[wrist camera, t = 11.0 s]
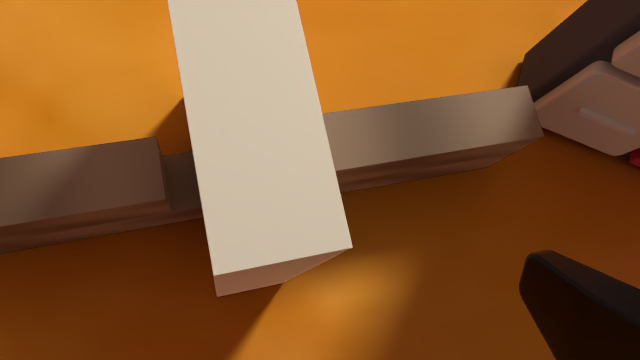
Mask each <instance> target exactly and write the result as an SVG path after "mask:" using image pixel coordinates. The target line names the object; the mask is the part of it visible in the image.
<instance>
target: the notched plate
mask: <svg viewBox="0 0 640 360" xmlns="http://www.w3.org/2000/svg"><path fill="white" fill-rule="evenodd" d="M167 1H168V7H169V13H170V20H171V26H172V32H173V38H174V44H175V50H176V56H177V62H178V68H179V74H180V80H181V86H182V92H183V98H184V104H185V110H186V116H187V122H188V128H189V134H190V140H191V146H192V152H193V157H194V163H195V169H196V175H197V181H198V187H199V193H200V199H201V205H202V211H203V217H204V223H205V229H206V235H207V241H208V247H209V253H210V259H211V265H212V271H213V277H214V283H215V289H216V295H217V297H220V296H225V295H229V294H234V293H239V292H243V291H248V290H253V289H257V288H262V287H267V286H272V285H276V284H281V283H284V282H286V281H288V280H290V279H292V278H294V277H296V276H298V275H300V274H302V273H304V272H306V271H308V270H310V269H312V268H314V267H316V266H318V265H320V264H322V263H323V262H325V261H327V260H329V259H331V258H333V257H335V256H337V255H339V254H341V253H343V252H345V251H347V250H349V249H351V248H353V246H352V242H351V238H350V233H349V229H348V225H347V220H346V216H345V212H344V207H343V203H342V198H341V194H340V190H339V185H338V181H337V177H336V172H335V168H334V164H333V159H332V155H331V150H330V146H329V142H328V137H327V133H326V129H325V124H324V120H323V116H322V111H321V107H320V102H319V98H318V94H317V89H316V85H315V81H314V76H313V72H312V68H311V63H310V59H309V54H308V50H307V46H306V41H305V37H304V33H303V28H302V24H301V20H300V15H299V11H298V6H297V2H296V0H167Z"/></svg>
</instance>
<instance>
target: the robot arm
mask: <svg viewBox="0 0 640 360" xmlns="http://www.w3.org/2000/svg"><path fill="white" fill-rule="evenodd" d="M519 291H520V295H521V298H522V300H523V301H524V303H525V305H526V307H527V309H528V310H529V312H530V314H531V316H532V318H533V319H534V321H535V323H536V325H537V327H538V328H539V330H540V332H541V334H542V335H543V337H544V339H545V341H546V343H547V344H548V346H549V348H550V350H551V352H552V353H553V355H554V357H555V359H556V360H640V289H638V288H635V287H633V286H631V285H629V284H626V283H624V282H622V281H620V280H617V279H615V278H613V277H611V276H608V275H606V274H604V273H601V272H599V271H597V270H595V269H592V268H590V267H588V266H586V265H583V264H581V263H579V262H577V261H574V260H572V259H570V258H567V257H565V256H563V255H561V254H558V253H556V252H554V251H551V250H544V251H539V252H535V253H531V254H529V255H528V256H527V258H526V260H525V264H524V268H523V272H522V275H521V279H520V283H519Z"/></svg>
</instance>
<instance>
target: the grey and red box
mask: <svg viewBox="0 0 640 360" xmlns="http://www.w3.org/2000/svg"><path fill="white" fill-rule="evenodd" d="M527 85H528V88H529V91H530V94H531V97H532V100H533V103H534V106H535V109H536V112H537V115H538V118H539V122H540V125H541V127H543V128H545V129H548V130H550V131H552V132H555V133H557V134H560V135H562V136H565V137H567V138H570V139H572V140H574V141H577V142H579V143H582V144H584V145H587V146H589V147H591V148H594V149H596V150H599V151H601V152H604V153H606V154H609V155H612V156H619V155H625V156H627V157H629V158H630V163H631V164H633V165H635V166H638V167H640V0H588V1H586V2H585V3H584V4H583V5H582V6H581V7H579V8H578V9H577V10H576V11H575V12H574V13H572V14H571V15H570V16H569V17H568V18H567V19H565V20H564V21H563V22H562V23H561V24H560V25H558V26H557V27H556V28H555V29H554V30H553V31H551V32H550V33H549V34H548V35H547V36H546V37H544V38H543V39H542V40H541V41H540V42H539V43H537V44H536V45H535V46H534V47H533V48H532V49H530V50H529V51H528V52H527V53H526V54H525V57H524V60H523V64H522V69H521V73H520V77H519V81H518V86H517V87H519V86H527Z"/></svg>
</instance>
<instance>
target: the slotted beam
mask: <svg viewBox="0 0 640 360" xmlns="http://www.w3.org/2000/svg"><path fill="white" fill-rule="evenodd" d="M322 116H323V120H324V124H325V129H326V133H327V137H328V142H329V146H330V150H331V155H332V159H333V164H334V168H335V172H336V177H337V181H338V185H339V190H340V193H345V192H350V191H356V190H362V189H367V188H373V187H379V186H384V185H390V184H395V183H401V182H407V181H412V180H418V179H424V178H429V177H435V176H440V175H446V174H452V173H457V172H463V171H469V170H474V169H480V168H486V167H489V166H491V165H493V164H495V163H497V162H498V161H500V160H502V159H504V158H506V157H507V156H509V155H511V154H513V153H515V152H516V151H518V150H520V149H522V148H524V147H525V146H527V145H529V144H531V143H533V142H535V141H536V140H538V139H540V138H542V137H544V134H543V131H542V128H541V125H540V122H539V118H538V115H537V112H536V109H535V106H534V103H533V100H532V97H531V94H530V91H529V88H528V85H527V86H519V87H512V88H505V89H498V90H490V91H483V92H476V93H469V94H461V95H454V96H447V97H440V98H432V99H425V100H418V101H411V102H403V103H396V104H389V105H382V106H374V107H367V108H360V109H353V110H345V111H338V112H331V113H324V114H322ZM199 218H204V217H203V211H202V205H201V199H200V193H199V187H198V181H197V175H196V169H195V163H194V157H193V152H187V153H180V154H173V155H166V156H163V155H162V153H161V150H160V147H159V144H158V141H157V139H156V137H150V138H142V139H135V140H128V141H121V142H113V143H106V144H99V145H92V146H84V147H77V148H70V149H63V150H55V151H48V152H41V153H34V154H26V155H19V156H12V157H5V158H0V254H2V253H7V252H13V251H18V250H24V249H30V248H35V247H41V246H47V245H52V244H58V243H63V242H69V241H75V240H80V239H86V238H92V237H97V236H103V235H108V234H114V233H120V232H125V231H131V230H137V229H142V228H148V227H154V226H159V225H165V224H170V223H176V222H182V221H187V220H193V219H199Z"/></svg>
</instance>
